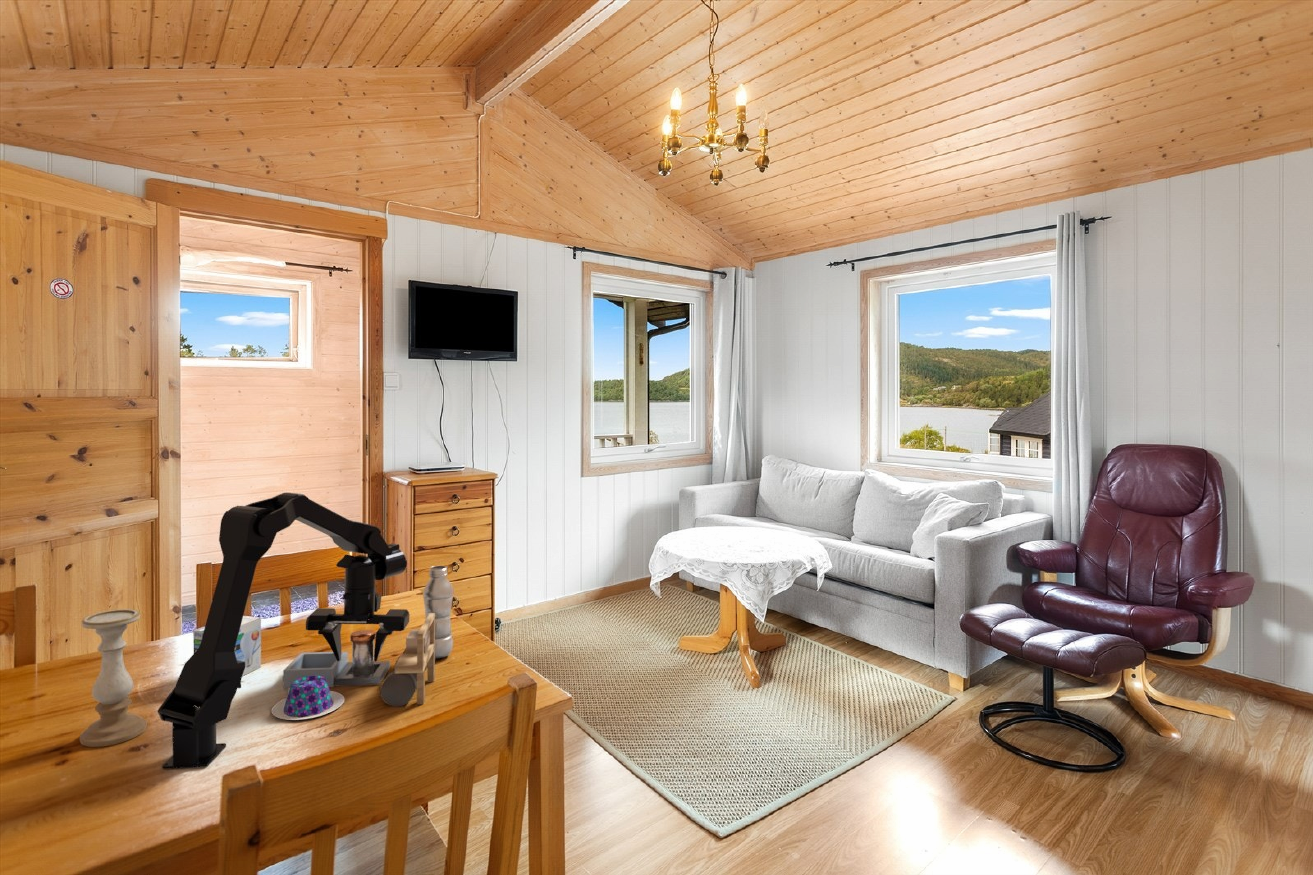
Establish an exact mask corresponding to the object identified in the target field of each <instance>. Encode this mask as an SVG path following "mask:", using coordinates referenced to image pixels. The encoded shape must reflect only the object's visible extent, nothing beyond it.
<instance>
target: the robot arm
mask: <svg viewBox="0 0 1313 875" xmlns="http://www.w3.org/2000/svg"><path fill="white" fill-rule="evenodd" d="M295 521H298V522H300V523H302V524H303V525H306V526H308V527H309V528H312V529H314V530H316V531H319V532H321V533H322V534H326V535H327V536H329V537H330V538H331V539H332V542H333V544H335V545H336V546H337V547H338V548H340V549H341V550H342V551H345V552H351V553H356V554H358V555H355V556H354V555H350V554H344V556H343V557H342V558H341V559H340V560H339V561H338V562H337V563H336V564H335V565H336V568H342V569H345V570H344V593H343V594H342V600H343V601H344V602H343V613H337V612H336V608H330V607H329V608H327V607H324V608H318V607H317V608H316V609H315V610H314V611H313V612H311V614H310V615H308V616H307V617H306V620H305V630H306V631H317V634H318V635H319V636H320V635H322V637H324V638H325V640H326V641H325V642H327V644H328V645H329V647H330V650H332V651H331V652H333V653H334V655H335V657H336V659H337V661H340V660H341V652H343V651H342V638H341V635H342V634H341V631H342V625H379V628H378V630H377V631H375V632H376V638H375V639H374V661H379V658H380V654H381V651H382V649H383V647H384V643H385V641H386V639H387V637H388V636H390V635H392V634H393V633H394V632H402V631H405V629H406V628H407V626H408V624H409V622H410V611H408V609H405V608H404V609H401V608H400V609H396V608H390V609H388V611H387V613H386V614H375V613H377V612H378V611H379V610H381V602H382V593H377V586H376V581H382V580H386V579H389V578H391V577H395V576H398V575H401V574H403V573H404V572H405V571H406V569H407V567H408V566H407V565H408V560H407V559H406V555H405V554H404V552H403V551H402V550H401V549H400V544H399V543H388V544H387V542H386V541H385V539H384V537H383V536H382V534H381V533H382V530H381V529H380V527H378V526H377V525H373V524H368V523H365V522H361V521H360V522H359V521H356V520H355V521H354V520H351V519H349V518H346V517H344V516H342V515H340V514H339V513H336V512H335V511H333V510H331V509H329V508H328V507H326V506H324V505H321V504H319V503H318V502H316V501H314V500H312V499H310V498H309V497H308V496H306V495H305V494H302V493H298V492H297V493H296V492H282V493H280V494H277V495H275V496H273V497H270V498H267V499H263V500H258V501H255V502H251V503H248V504H246V505H236V506H233V507H231V508H230V509H228V510H226V511H225V512H224V513H223V515H222V517H221V520H220V527H219V537H218V542H219V546H220V549H221V552H222V557H223V558H222V563H221V567H220V570H219V571H220V572H219V574H218V577H217V581H216V585H215V589H214V593H213V597H212V600H211V603H210V607H209V611H208V614H207V618H206V622H205V629H204V632H203V636H202V640H201V643H200V646H199V648H198V650H197V651H196V652H195V653H194V652H193V654H192V655H191V657H190V658H188V659H187V661H186V662H185V663H184V664H183V667H182V669H181V671H180V674H179V676H178V678H177V681H176V683H175V686H174V688H173V689H172V691H171V692H169V694H168V696H167V697H166V698H165V700H164V701H163V703H162V704H161V705H160V706H159V707H158V709H157V713H158V715H159V718H160V720H161V721H163V722H168V723H171V724H172V725H171V726H172V730H171V732H172V755H171V757H169V758H168V759H167V760H165V762H164V763H163V764H162V765H161V769H163V770H169V769H172V770H174V769H193V768H206V767H208V766H209V765H210V764H211V763H212V762H213V761H214V760H215V759H216V758H217V757H218V756H219V755H220V754H221V753H222V752H223V751H224V750H225V748H227V744H226V743H224V742H222V743H221V742H219V743H217V724H218V723H220V722H222V721H225V720H226V719H227V718H228V715H229V712H230V709H231V705H232V702H233V699H234V698H235V697H236V693H237V692H238V691H237V690H238V689H241V688H242V677H243V676H242V675H243V672H244V670H245V662H243V661H238V660H237V659H236V655H235V646H236V642H237V638H238V634H239V630H240V627H241V623H242V619H243V616H245V611H246V608H247V607H246V606H247V603H248V599H249V595H250V592H251V587H252V583H253V579H254V577H255V571H256V568H257V565H258V563H259V561H260V560H261V559H262V558H263V556H265V555H266V553H267V552H268V551H269V550H270V549H271V548H272V545H273V543H274V542H275V538H276V535H277V533H279V532H281V531H284V530H285V529H287V528H289V527H291V525H292V524H293V523H294V522H295ZM363 554H364V555H363Z"/></svg>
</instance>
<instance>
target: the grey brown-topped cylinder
mask: <svg viewBox="0 0 1313 875" xmlns="http://www.w3.org/2000/svg"><path fill="white" fill-rule="evenodd" d="M376 632H377V631H376V630H374V629H361V630H356V631H353V632H351V633H350V635H349V636H350V637H349V638H350V642H352V649H351V650H352V651H351V652H352V661H351V662H352V674H351V675H374V673H375V671H374V650H375V639H376Z"/></svg>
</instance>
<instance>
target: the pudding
mask: <svg viewBox="0 0 1313 875" xmlns="http://www.w3.org/2000/svg"><path fill="white" fill-rule="evenodd" d="M344 702H345V696H344V695H343V694H341V693H339V692H338V691H333V690H330V687H328V684H327V680H326V679H325V678H324V677H320V676H318V675H314V676H305V677H303V678H298V679H296V680H295V681H294V682H293V683H292V684H291V685H290V688H288V692H287V696H286V697H285V698H282V699H281V700H279V701H277V702H276V703H275V704H274V706H272V707H271V713H272V715H273V717H276V718H278V719H281V720H288V721H289V720H290V721H296V720H297V721H299V720H301V721H302V720H308V719H314V718H317V717H321V716H324V715H327V714H328V713H331V712H333V711H335V710H337V709H339V708H340V707H341V706H343V703H344Z"/></svg>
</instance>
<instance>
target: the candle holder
mask: <svg viewBox="0 0 1313 875" xmlns="http://www.w3.org/2000/svg"><path fill="white" fill-rule="evenodd" d="M140 618H141V613H140V611H139V610H136V609H131V608H130V609H129V608H121V609H120V608H119V609H112V610H111V609H110V610H105V611H101V612H96V613H92V614H90V615H87V616H86V617H84V618H83V619H82V621H81V627H83V628H84V629H88V630H89V629H90V630H94V632H95V634H96V635H98V636H99V637H100V638H101V642H100V643H99V645H98V647H97V648H96V649H97V651H98V652H100V653H101V667H100V671H99V674H98V676H97V678H96V679H95V681H94V684H93V686H92V689H91V695H92V698H93V699H94V700H95V701H97V702H98V704H97V705H95V707H94V711H95V712H97V714H98V715H99V717H100V718H98V719H97V720H95V721H93V722H91V723H90V724H89V726H88V727H87V728H86V729H84V730H83V731H82V732H81V734H80V735H79V742H80V744H81V745H82V746H84V747H89V748H100V747H108V746H115V745H117V744H121V743H123V742H127V741H129V740H132V739H134V738H136V737H139V735H141V734H143V733H144V731H146V729H147V726H148V724H147V720H146V719H145V718H144V717H141V716H139V715H138V714H136V713H131V712H128V709H129V707H130V705H131V704H132V699H131V698H129V695H130V694H132V691H133V689H134V681H133V678H132V676H131V675H130V673H129V672H128V670H127V669H126V666H125V663H124V654H123V653H124V652H123V651H124V648H125V647H126V646H127V642H126V641H125V640H124V638H123V634H124V632H125V631H126V630H127V629H128V625H130V624H132V623H135V622H137V621H138V620H139V619H140Z"/></svg>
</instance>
